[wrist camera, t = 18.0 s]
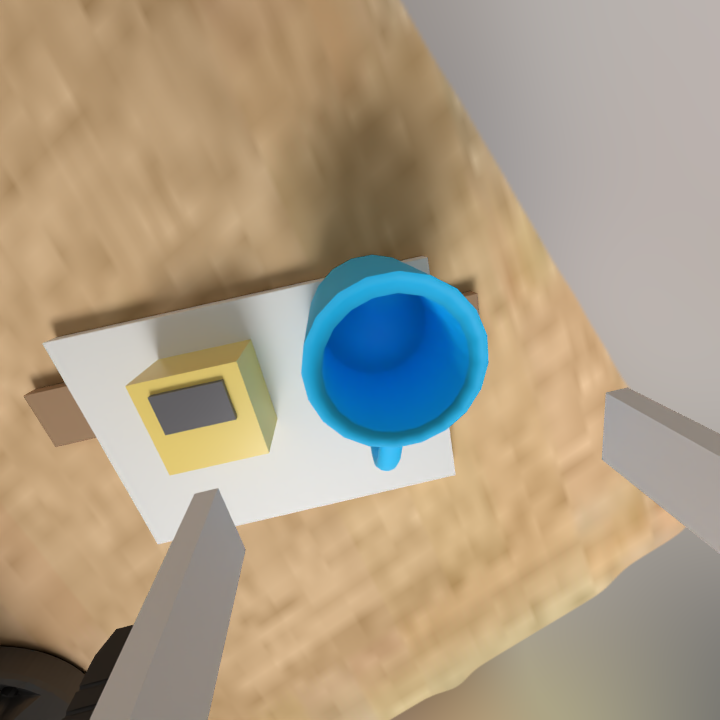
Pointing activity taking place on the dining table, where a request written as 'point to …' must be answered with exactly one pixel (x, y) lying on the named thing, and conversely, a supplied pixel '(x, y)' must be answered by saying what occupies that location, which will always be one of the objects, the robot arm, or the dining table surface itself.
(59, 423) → the drywall panel
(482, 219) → the dining table surface
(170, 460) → the block
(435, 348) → the mug
